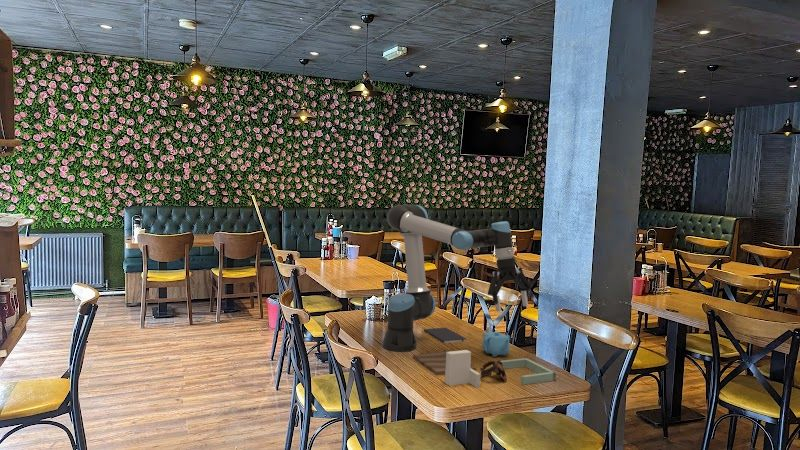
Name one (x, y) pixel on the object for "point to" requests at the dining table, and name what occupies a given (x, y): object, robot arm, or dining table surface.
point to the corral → (543, 372)
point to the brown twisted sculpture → (493, 369)
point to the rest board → (434, 362)
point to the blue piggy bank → (496, 344)
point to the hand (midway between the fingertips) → (512, 308)
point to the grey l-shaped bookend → (460, 369)
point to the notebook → (445, 335)
